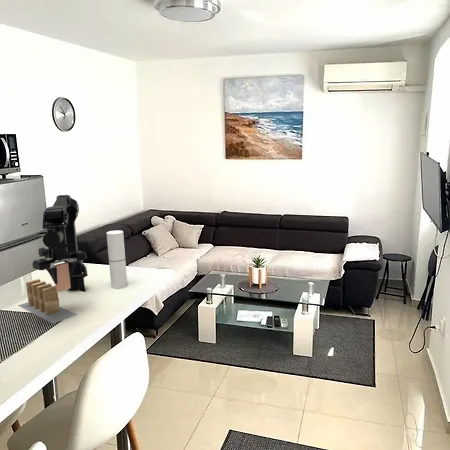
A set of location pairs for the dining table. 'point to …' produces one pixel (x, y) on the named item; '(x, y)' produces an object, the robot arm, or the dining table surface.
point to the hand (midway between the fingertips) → (62, 282)
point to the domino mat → (52, 317)
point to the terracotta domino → (62, 277)
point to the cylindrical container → (117, 259)
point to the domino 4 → (51, 300)
